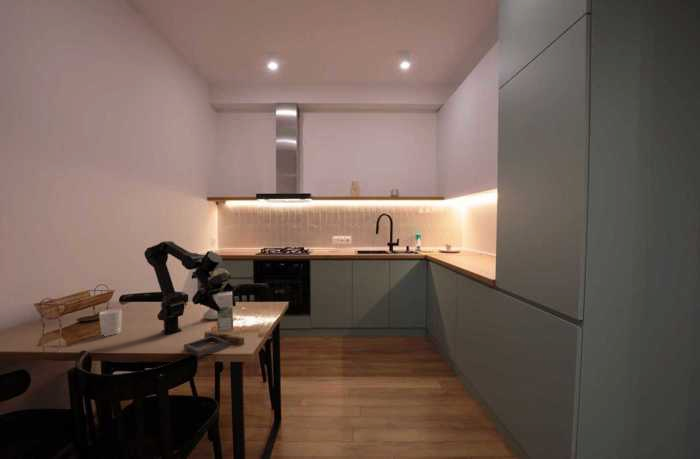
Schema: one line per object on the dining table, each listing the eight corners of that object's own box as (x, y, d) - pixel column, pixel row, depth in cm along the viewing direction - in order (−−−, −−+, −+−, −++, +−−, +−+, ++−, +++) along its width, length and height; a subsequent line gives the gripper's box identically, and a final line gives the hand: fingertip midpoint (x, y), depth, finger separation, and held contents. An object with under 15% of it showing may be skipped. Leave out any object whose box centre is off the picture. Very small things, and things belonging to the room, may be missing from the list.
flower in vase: (200, 322, 148) (198, 271, 147) (205, 315, 159) (203, 267, 158) (229, 319, 151) (227, 269, 151) (232, 313, 162) (230, 266, 162)
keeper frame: (184, 349, 115) (183, 344, 115) (213, 340, 123) (213, 335, 123) (198, 357, 107) (197, 351, 107) (228, 346, 116) (228, 341, 116)
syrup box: (233, 325, 126) (232, 290, 126) (233, 330, 121) (232, 293, 120) (218, 327, 124) (217, 292, 124) (217, 332, 119) (216, 295, 118)
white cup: (126, 332, 137) (125, 309, 137) (106, 338, 130) (105, 314, 130) (116, 330, 141) (115, 308, 140) (96, 335, 133) (95, 313, 133)
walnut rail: (204, 338, 126) (204, 332, 126) (207, 337, 127) (207, 331, 127) (241, 345, 117) (240, 338, 117) (244, 343, 119) (243, 337, 119)
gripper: (196, 269, 115) (218, 301, 111) (234, 263, 132) (254, 290, 128) (182, 288, 118) (203, 320, 114) (221, 280, 135) (240, 307, 131)
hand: (227, 308), depth 122 cm, fingers closed on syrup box, 8 cm apart
